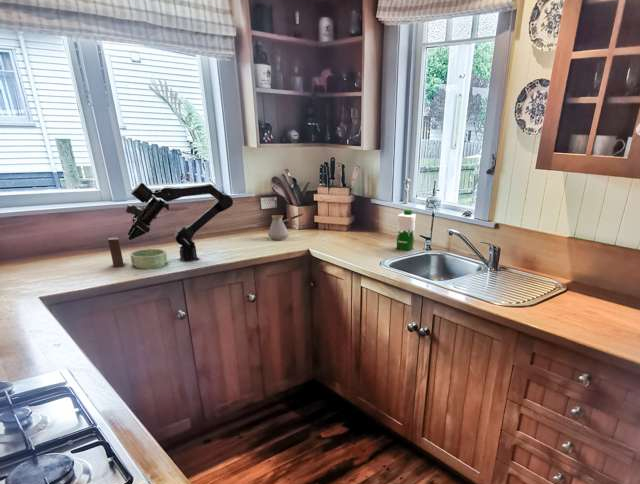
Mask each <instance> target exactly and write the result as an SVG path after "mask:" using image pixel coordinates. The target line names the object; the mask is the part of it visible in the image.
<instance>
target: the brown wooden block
mask: <svg viewBox="0 0 640 484" xmlns="http://www.w3.org/2000/svg"><path fill="white" fill-rule="evenodd" d="M107 243H108V246H109V251H110V252H109V253H110V255H111V260H112V265H113V268H119V267H124V266H125V264H124V257H123V252H122V249H121V243H120V239H119V237H108V238H107Z"/></svg>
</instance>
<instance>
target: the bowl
mask: <svg viewBox="0 0 640 484" xmlns="http://www.w3.org/2000/svg"><path fill="white" fill-rule="evenodd" d="M129 257H130V262H131V264H132V265H134V267H135V268H137V269H143V270H144V269H145V270H150V269H158V268H161V267H164V266H165V265H166V263H167V262H168V254H167V251H166V249H165V250H164V249H161V248H146V249H145V248H144V249H143V248H142V249H138V250H133V251H131V252H130V253H129Z"/></svg>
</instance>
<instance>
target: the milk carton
mask: <svg viewBox="0 0 640 484" xmlns="http://www.w3.org/2000/svg"><path fill="white" fill-rule="evenodd" d="M416 216H417V214H416V213H415V214H414V213H413V210H412V209H404V210H403V212H402V213H399V214H397V227H396V228H397V229H396V250H401V251H408V252H409V251H410V250H411V249H413V247H414V242H415V229H416Z"/></svg>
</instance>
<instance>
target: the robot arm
mask: <svg viewBox="0 0 640 484" xmlns="http://www.w3.org/2000/svg"><path fill="white" fill-rule="evenodd" d="M207 194H208V195H211V197H213V198H215V200H214V201H213V203H212V204H211V206H209V208H207V209H206V210H205V211H204V212H202V213H201V214H200V215H199V216H198V217H196V218H195V219H194V220H193V221H191V222H190V223H189V224H187V225H186V226H185V225H184V224H181V225H180V226H179V228H176V229H175V232H174V239H175V241H176V243H177V244H178V245H181V246H179V260H181V261H183V262H186V263H187V262H192V261H197V260H199V259H200V258H199V257H198V255H197V248H196V243H195V241H194V240H193V237H194V236H195V234H196V233H197V232H198V231H199V230H201V228H203V227H204V226H205V225H206V224H207V223H209V222H210V221H211V220H212V219H213V218H214V217H216V216H217V215H218V214H219V213H222V212H224V211H226V210H228V209H230V208H231V207H232V206H233V205H234V200H233V198H232V197H231V196H230V195H228V194H227V193H223V192H221V191H220V190H218V189H217V188H215V186H214V185H213V184H211V183H206V184H199V185H191V186H182V187H181V186H180V187H178V186H168V185H166V186H161V187H160V188H159V189H154V190H152V189H150V188H149V187H148V186H146V184H145V183H144V182H142V181H141V182H140V183H139V184H138V185H137V186H135V187H134V188H133V190H132V191H131V192H130V195H132V196H133V197H134V198H136V199H137V200H138V201H139V202H141V203H142V204H144V203H145V204H146V206H143V207H142V208H140V207H138V206H137V205H134V204H130V203H127V204H126V207H125V213H127V214H132V224H131V226H130V228H129V230H128V232H127V235H128V237H127V238H128V240H129V241H132V240H133V239H137V238H139V237H141V236H143V235H146V234H148V233H150V231H151V227H150V226H151V223H153V221H154V220H156V219H157V217H158V216H159V214H160V213H161V212H162V211H163V210H164V209H166V210H167V211H170V204H169V202H172V201H175V200H178V199H180V198H183V197H191V196H200V195H207Z"/></svg>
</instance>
